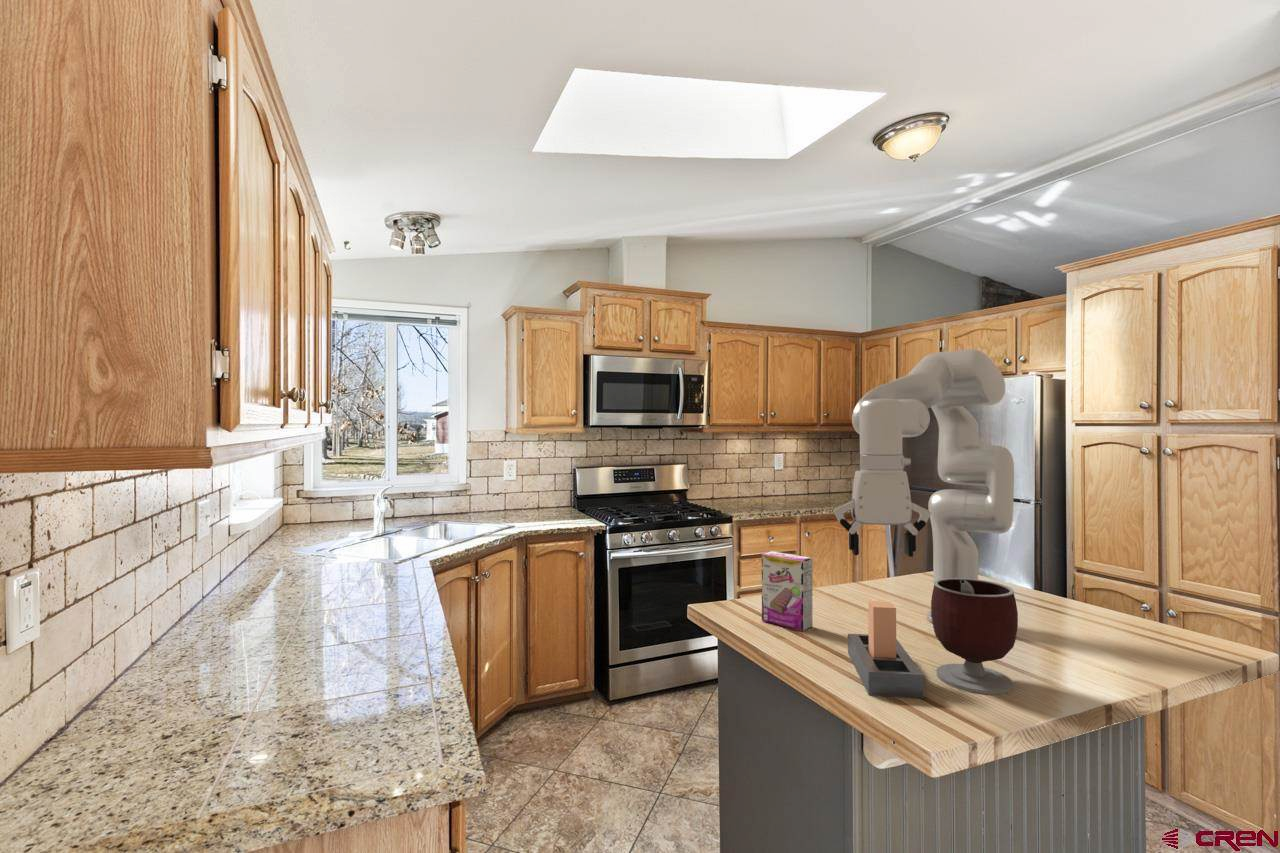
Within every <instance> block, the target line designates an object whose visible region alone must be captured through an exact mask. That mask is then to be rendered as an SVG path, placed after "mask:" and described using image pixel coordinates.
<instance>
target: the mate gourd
mask: <svg viewBox="0 0 1280 853" xmlns="http://www.w3.org/2000/svg"><path fill="white" fill-rule="evenodd" d="M932 589H933V590H932V594H931V600H930V611H931V617H932V622H931V623H932V628H933V631H934V635H935V637H936V638H937V640H938V642H940V644H941V645H942V647H943V648H944V649H945V650H946V651H947V652H950V653H951V654H953V655H956V656H957V657H960V658H962V659H964V660H965V661H964V663H947V664H943V665H939V666H938V667H937V669H936V670H935V671H936V678H938V679H939V680H940V681H941V682H942V683H944V684H945V685H947V686H949V687H952V688H955V689H958V690H961V691H965V692H969V693H975V694H979V693H980V694H979V695H1004V694H1008V693H1010V692H1012V691H1011V690H1013V689H1014V681H1013V680H1012V679H1011V678H1010V677H1009V676H1008V675H1006V674H1004V673H1002V672H1000V671H998V670H995V669H992V668H988V667H986V666H984V665H983V663H984V662H989V661H991V662H992V661H996V660H1001V659H1003V658H1004V657H1005V656H1006V655H1007V654H1009V652H1010V651H1011V650H1012V649H1013V648H1014V646H1015V643H1016V640H1017V633H1018V627H1019V624H1018V623H1019V616H1018V615H1019V614H1018V613H1019V612H1018V606H1017V601H1016V600H1017V599H1016V597H1015V596H1016V595H1015V593H1014V592H1015V590H1014V589H1013V588H1011V587H1010V586H1008V585H1004V584H1002V583H998V582H993V581H988V580H983V579H978V580H977V579H966V578H945V579H939V580H936V581H935V582H934V581H933V588H932ZM1009 691H1010V692H1009ZM1007 692H1008V693H1007ZM1003 693H1004V694H1003Z"/></svg>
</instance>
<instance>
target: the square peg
mask: <svg viewBox="0 0 1280 853" xmlns="http://www.w3.org/2000/svg"><path fill="white" fill-rule="evenodd" d="M867 603H868V610H867V612H868V616H867V618H868V635H869V654H870V656H871V657H885V658H896V639H897V607H896V606H895V605H894V604H893V603H892V602H891V601H881V600H879V601H875V600H874V601H872V600H868V601H867Z"/></svg>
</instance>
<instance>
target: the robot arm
mask: <svg viewBox="0 0 1280 853" xmlns="http://www.w3.org/2000/svg"><path fill="white" fill-rule="evenodd" d="M1005 393H1006V381H1005V378H1004V375H1003V374H1002V371H1001V370H1000V369H999V368H998V366H997V365H996V364H995V362H994V361H993V360H992V359H991V358H990V357H989V355H987V354H986V353H984V352H983V351H981V350H979V349H975V348H971V349H970V348H969V349H960V350H949V351H948V350H946V351H938V352H933V353H930V354H927V355H926V356H924V357H922V359H921V360H920V361H919V362H918V363H917V364H916V365H915V366H914V367H913V368H912V369H911V370H910V371H909V373H908V374H906V375H905V376H904V375H903V376H902V377H898V378H896V379H893V380H892V381H888V382H886V383H883V384H881V385H878V386H876V387H874V388H872V389H871V390H869V391H867V392H866V393H865V394H864V395H863V396H862V397H861V398H860V399H859V400H858V402H857V403H856V405H855V407H854V408H853V411H852V414H851V422H852V424H851V425H852V427H853V430H854V431H855V432H856V433H857V434H858V435H859V470H855V472H854V475H853V476H854V478H853V485H852V492H851V494H852V496H851V500H850V501H848V502H846V503H844V504H842V505H840V506H838V507H836V508H834V509H833V514H834V515H835V518H836V519H837V521H838V522H839V524H840V525H841V526H842V527H843V528H844V529H845V530H846V531H847V532H848V549H849V550H850V551H851V554H853V555H854V556H859V555H860V549H859V547H860V546H859V544H860V543H859V537H860V535H859V534H858V530H860V528H861V527H862V526H863V525H874V526H877V525H880V526H882V525H885V526H887V525H888V526H902V527H904V529H905V531H906V532H905V533H904V537H903V538H904V541H903V543H904V544H903V545H904V554H905V555H907V556H908V557H909V558H913V557H914V552H916V549H917V548H916V547H917V545H916V544H917V538H916V536H917V535H918V534H919V532H920V531H922V529H924V528H925V527H926V524H927V522H928V521H929V519H930V524H931V531H932V544H933V545H932V548H933V549H932V550H933V551H932V552H933V553H932V554H933V556H932V559H933V561H932V562H933V563H932V566H933V567H932V568H933V570H932V571H933V572H932V573H933V575H932V576H933V578H932V579H933V583H934V582H935V581H936V580H939V579H945V578H966V579H977V580H979V550H978V548H977V547H978V546H977V545H976V543H975V541H974V540H973V539H972V538H971V535H969V533H968V532H974V533H975V532H976V533H984V534H985V533H986V534H995V535H996V534H997V535H998V534H999V535H1000V534H1005V533H1007V532H1009V531H1010V529H1011V527H1012V525H1013V524H1012V523H1013V520H1014V519H1013V518H1014V498H1015V497H1014V496H1015V495H1014V494H1015V492H1014V491H1015V464H1014V463H1015V462H1014V459H1013V458H1014V457H1013V456H1012V453H1011V451H1010V450H1009V449H1008V448H1006V446H1005V447H1004V446H1002V445H994V444H993V445H991V444H980V443H979V424H978V421H977V420H976V418H975V417H974V416H973V415H972V413H970V411H969V410H968V409H966V408H965V407H973V406H975V407H977V406H993V405H997V404H999V403H1000V402H1001V401H1002V400H1003V398H1004V396H1005ZM930 408H931V410H932V412H933V414H934V417H935V418H936V421H937V424H938V446H937V447H938V449H937V474H938V476H939V478H940V480H941V481H943V482H944V483H948V484H954V485H969V486H970V485H971V486H985V487H988V490H989V491H981V490H969V489H954V488H953V489H948V488H947V489H946V488H945V489H941V490H937V491H935V492H933V493H932V494H931V496H930V497H929V500H928V504H927V505H928V509H926V508H924V507H922V506H920V505H919V504H916V503H914V502H912V498H911V490H910V485H909V484H910V483H909V478H908V474H907V471H904V470H903V469H904V468H905V467H906V466H911V465H912V462H911V461H912V460H911V458H909V457H908V458H907V457H905V456H904V454H903V438H914V437H919V436H921V435H922V434H924V433H925V432H926V431H927V429H928V427H929V425H930V421H931V416H930V411H929V409H930ZM849 511H851V517H852V519H853V520H852V521H851V522H850V523H849V522H848V520H846V517H845V514H846V512H849ZM913 511H914V512H916V513H918V514H919V518H918V519H917V520H916V521H915V522H914V523H912V516H913V513H912V512H913ZM926 619H927V620H928V621H929V622H931V623H932V617H931V610H930V611H927V612H926Z"/></svg>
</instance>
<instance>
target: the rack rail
mask: <svg viewBox="0 0 1280 853" xmlns="http://www.w3.org/2000/svg"><path fill="white" fill-rule="evenodd" d="M847 654H848V657H849V658H850V660H851V662H852V664H853V666H854V668H855V670H856V672H857V674H858V677H859V678H860V680H861V682H862V684H863V686H864V688H865V691H866V693H867V695H868V696H876V697H891V698H892V697H893V698H907V699H908V698H909V699H921V700H923V699H924V700H925V675H924V673H923V672H922V671H921V669H920V668H919V666H918V665H917V664H916V663H915V662H914V660H913V659H912V658H911V656H910V655H909V654H908V652H907V651H906V650H905V648H904V647H903V646H902V644H901V643H900V642H899V641H898V639H897V638H896V658H885V657H871V656H870V654H869V634H863V633H847Z"/></svg>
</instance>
